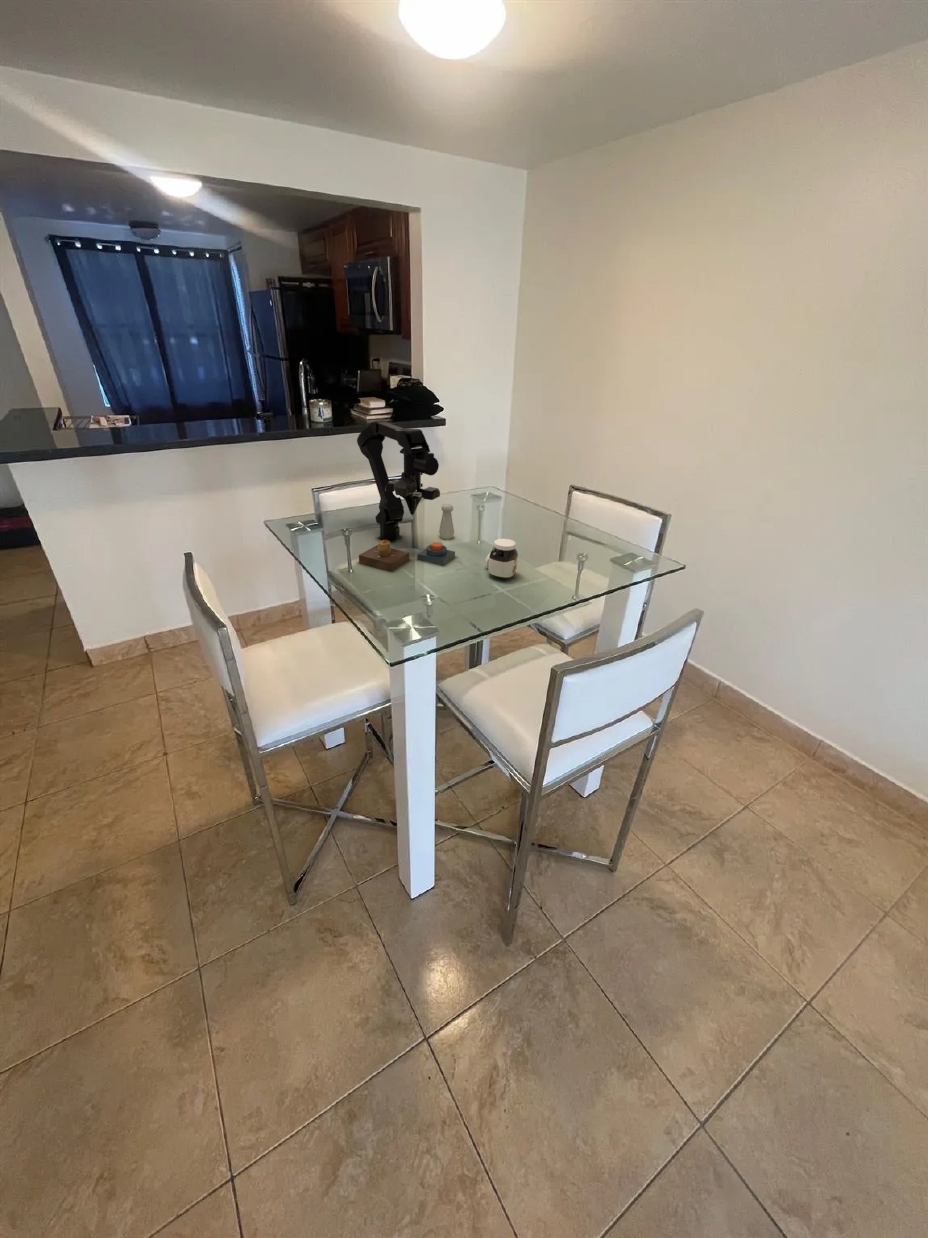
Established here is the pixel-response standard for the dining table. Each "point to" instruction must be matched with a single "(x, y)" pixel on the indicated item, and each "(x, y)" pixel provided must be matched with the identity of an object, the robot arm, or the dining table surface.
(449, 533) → the salt shaker
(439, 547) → the button
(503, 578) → the spread jar
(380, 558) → the dial panel
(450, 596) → the dining table surface
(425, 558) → the button housing
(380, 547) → the dial
